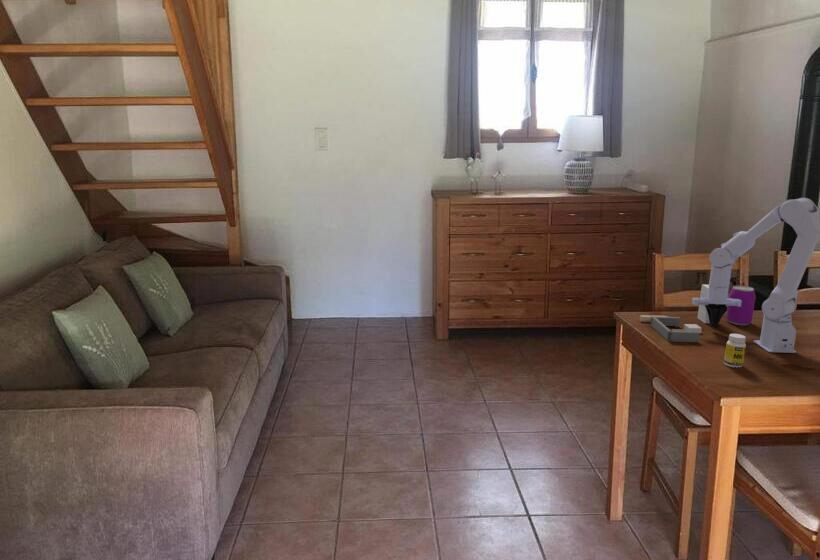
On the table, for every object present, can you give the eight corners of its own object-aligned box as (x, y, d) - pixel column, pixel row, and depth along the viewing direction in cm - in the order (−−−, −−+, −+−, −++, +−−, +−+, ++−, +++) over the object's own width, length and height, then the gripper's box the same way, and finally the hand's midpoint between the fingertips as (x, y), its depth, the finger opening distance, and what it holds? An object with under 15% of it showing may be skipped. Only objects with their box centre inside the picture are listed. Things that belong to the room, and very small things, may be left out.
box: (698, 342, 195) (699, 332, 194) (668, 341, 195) (669, 332, 195) (678, 326, 211) (679, 317, 210) (650, 325, 211) (651, 316, 210)
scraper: (678, 325, 212) (679, 319, 211) (643, 324, 212) (643, 318, 211) (670, 318, 218) (671, 313, 218) (636, 317, 219) (637, 312, 218)
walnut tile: (687, 339, 198) (688, 333, 198) (674, 339, 198) (675, 333, 198) (682, 335, 202) (683, 329, 202) (669, 335, 202) (670, 329, 202)
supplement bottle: (732, 368, 174) (736, 339, 172) (719, 362, 179) (723, 333, 177) (746, 367, 176) (751, 337, 174) (733, 361, 180) (738, 332, 178)
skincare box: (717, 323, 214) (722, 288, 211) (704, 323, 214) (709, 288, 211) (709, 318, 220) (714, 284, 217) (696, 318, 220) (701, 284, 217)
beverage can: (746, 320, 219) (751, 285, 216) (754, 326, 211) (760, 291, 208) (722, 318, 220) (727, 284, 217) (730, 325, 212) (735, 290, 210)
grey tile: (701, 334, 204) (701, 328, 203) (688, 333, 204) (689, 327, 203) (695, 330, 208) (696, 324, 207) (683, 330, 208) (683, 324, 207)
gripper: (736, 283, 206) (730, 323, 209) (690, 281, 206) (685, 322, 209) (747, 288, 199) (740, 330, 202) (699, 287, 199) (694, 329, 203)
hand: (713, 327), depth 205 cm, fingers closed
